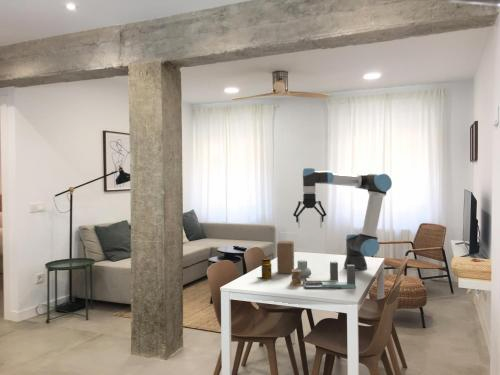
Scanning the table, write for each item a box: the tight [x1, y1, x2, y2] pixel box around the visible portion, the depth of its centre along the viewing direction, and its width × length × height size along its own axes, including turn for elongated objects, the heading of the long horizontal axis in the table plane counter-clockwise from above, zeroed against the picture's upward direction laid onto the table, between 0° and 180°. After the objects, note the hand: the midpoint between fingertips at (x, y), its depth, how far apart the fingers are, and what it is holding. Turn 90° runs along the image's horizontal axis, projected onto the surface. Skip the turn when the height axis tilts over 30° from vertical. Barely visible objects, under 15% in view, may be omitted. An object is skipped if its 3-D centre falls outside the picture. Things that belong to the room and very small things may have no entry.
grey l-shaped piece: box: [321, 265, 357, 289], centre depth 233 cm, size 18×6×12 cm, turn 86°
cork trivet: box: [290, 280, 304, 287], centre depth 240 cm, size 7×7×1 cm
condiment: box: [256, 257, 275, 281], centre depth 256 cm, size 7×8×12 cm
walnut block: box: [291, 269, 302, 284], centre depth 240 cm, size 5×5×7 cm
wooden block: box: [276, 240, 295, 275], centre depth 271 cm, size 10×10×20 cm
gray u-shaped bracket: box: [305, 261, 339, 283], centre depth 243 cm, size 18×6×12 cm, turn 86°
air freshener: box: [294, 259, 312, 279], centre depth 258 cm, size 11×8×10 cm
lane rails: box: [302, 278, 342, 290], centre depth 238 cm, size 20×18×1 cm
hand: (309, 227), depth 257 cm, fingers open, 13 cm apart
